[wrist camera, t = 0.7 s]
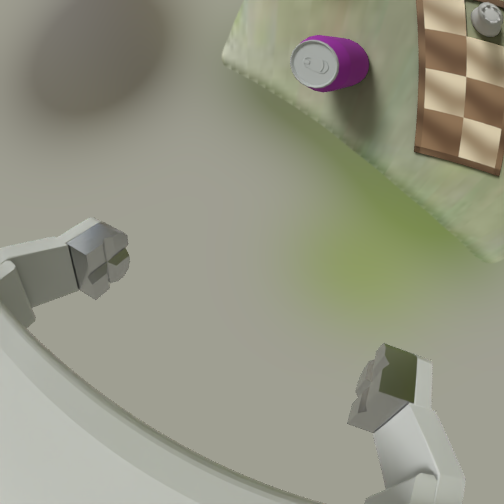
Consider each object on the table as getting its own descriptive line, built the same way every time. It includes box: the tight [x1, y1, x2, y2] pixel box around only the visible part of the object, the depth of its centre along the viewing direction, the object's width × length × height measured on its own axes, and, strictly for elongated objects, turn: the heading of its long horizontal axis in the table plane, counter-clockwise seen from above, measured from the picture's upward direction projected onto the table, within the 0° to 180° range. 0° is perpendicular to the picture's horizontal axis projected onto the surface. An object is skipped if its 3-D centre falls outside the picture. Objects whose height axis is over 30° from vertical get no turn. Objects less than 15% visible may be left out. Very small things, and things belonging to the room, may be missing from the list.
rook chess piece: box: [471, 2, 503, 37], centre depth 20 cm, size 4×4×8 cm
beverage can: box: [290, 35, 369, 92], centre depth 35 cm, size 8×8×12 cm
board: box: [414, 0, 504, 176], centre depth 29 cm, size 26×14×1 cm, turn 7°
